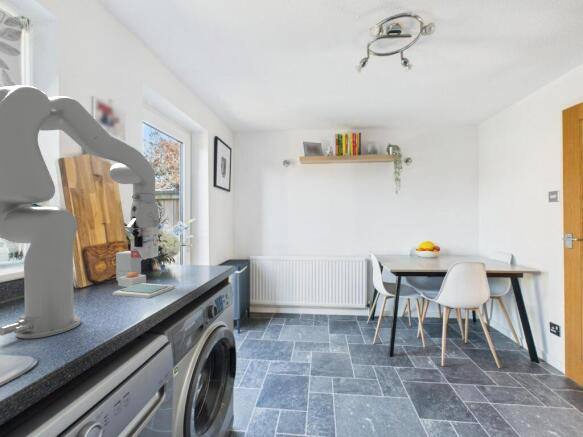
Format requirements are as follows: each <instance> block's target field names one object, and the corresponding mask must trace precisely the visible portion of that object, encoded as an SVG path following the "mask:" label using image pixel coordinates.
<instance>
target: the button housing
mask: <svg viewBox="0 0 583 437" xmlns="http://www.w3.org/2000/svg"><path fill="white" fill-rule="evenodd" d="M141 283H147V275H146V274H141V275H138V277H134V278H127V276H123V277H119V278H118V281H117V286H118V287H123V288H128V287H131V286H134V285H138V284H141Z"/></svg>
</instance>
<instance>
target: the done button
mask: <svg viewBox="0 0 583 437" xmlns="http://www.w3.org/2000/svg"><path fill="white" fill-rule="evenodd" d="M134 277H138V272H129V273H127V278H134Z"/></svg>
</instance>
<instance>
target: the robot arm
mask: <svg viewBox="0 0 583 437" xmlns="http://www.w3.org/2000/svg"><path fill="white" fill-rule="evenodd" d="M40 131H62V132H64V133H65V134H66V135H67V136H68V137H69V138H70V139H72V140H73V141H74V142H75V143H76V144H77V145H78V146H80V147H81V149H83V150H84V151H85V152H86V153H88V154H89V155H91V156H94V157H97V158H100V159H104V160H109V161H112V162H116V163H115V164H113V165H111V167H110V168H109V176H110V178H111V180H112V181H114V182H115V183H117V184H121V185H132V195H131V199H132V202H131V208H130V221H129V224H128V225H127V228H126V229H127V230H128V231H129V232H130V234H131V233H132V234H133V236H134V246H135V247H142V246H143V237H142V236H141V234H142V230H143V229H146V228H147V227H156V224H155V219H157V221H158V229H160V227H161V225H160V217H159V216H160V214H159V208H158V204H157V202H156V171H155V168H153V167H152V164H151V162H149V161H148V159H147V158H146V157H145V156H144V155H143V154H142V153H141V151H139V150H138V149H136V148H135V147H133V146H131V145H129V144H127V143H125V142H123V141H122V140H120V139H118V138H116V137H113V136H112V135H111V134H109V133H108V131H107V130H106V129H105V128H104V127H103V126H102V125H101V124H100V123H99V122H98V121H97V120H96V119H95V118H94V116H93V115H92V114H91V113H89V111H88V110H87V109H86V108H85V107H84V106H83V105H82V104H81V103H80V102H79V101H78V100H76V99H74V98H72V97H69V96H52V97H48V96H47V94H46V93H45V92H44V91H42V90H41V89H39V88H37V87H35V86H31V85H10V86H2V87H0V236H1V237H2V238H3V239H5V240H7V241H8V242H12V243H17V244H29V247H28V249H27V251H26V254H25V256H24V261H23V271H24V272H23V273H24V274H23V276H24V277H23V279H24V282H23V283H24V284H23V285H24V286H23V287H24V315H21V316H19V317H18V319H19V320H16V321H15V323H12V324H8V325H7V324H6V325H4V326H1V327H0V336H5V335H8V334H11V333H14V334H15V337H17V338H19V339H23V340H24V339H27V340H28V339H40V338H45V337H51V336H55V335H59V334H62V333H65V332H68V331H71V330H73V329H75V328H76V327H78V326H79V325H80V324H81V323H82V318H81V317H80V316H78V315H75V312H74V305H75V304H74V303H75V302H74V299H75V298H74V247H75V240H76V236H77V232H78V221H77V218H76V217H75V215H74V214H73V213H72V212H71V211H69V210H67V209H65V208H63V207H57V206H33V205H35V204H37V205H38V204H42V203H46V202H49V201H50V200H52V199H53V198H54V196H55V193H56V187H55V182H54V181H53V178H52V175H51V173H50V171H49V169H48V167H47V164H46V160H45V159H44V156H43V155H42V152H41V149H40V145H39V133H40ZM137 227H140V228H137ZM137 230H139V231H137Z"/></svg>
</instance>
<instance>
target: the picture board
mask: <svg viewBox="0 0 583 437" xmlns="http://www.w3.org/2000/svg"><path fill="white" fill-rule="evenodd" d="M174 289H176V286H175V285H173V284H159V283H147V282H146V283H141V284H138V285H134V286H131V287H124V288H122V289H119V290H115V291H113V292H112V296H119V297H121V296H122V297H132V298H141V299H150V298H152V297H156V296H158V295H161V294H164V293H165V292H169V291H171V290H174Z"/></svg>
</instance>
